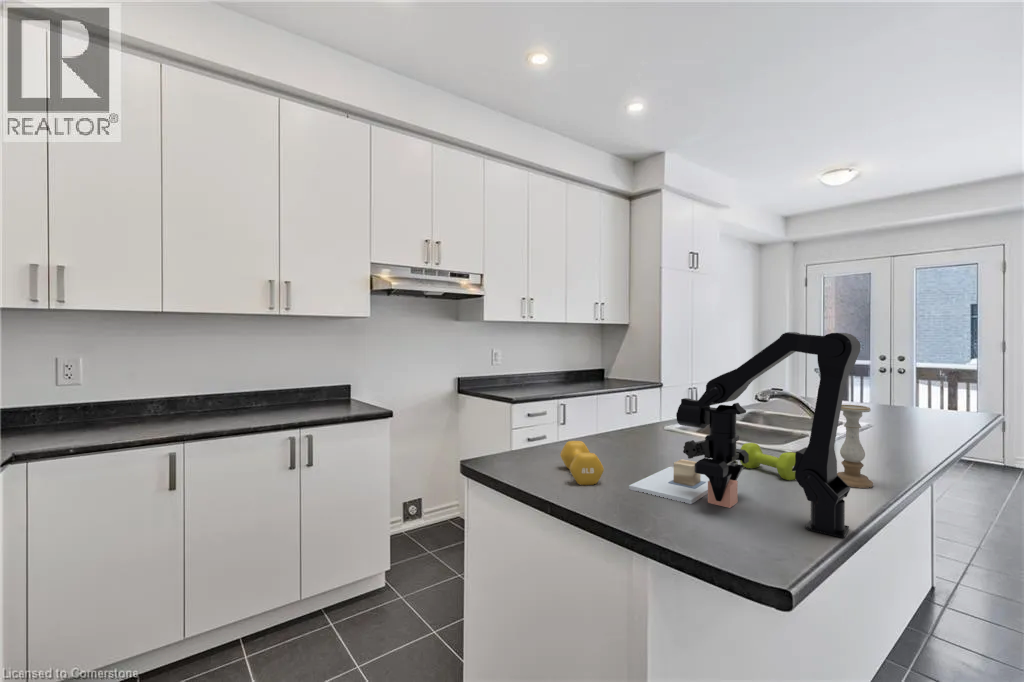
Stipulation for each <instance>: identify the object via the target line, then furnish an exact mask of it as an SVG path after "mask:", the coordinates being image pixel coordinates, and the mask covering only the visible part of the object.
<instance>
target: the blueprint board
mask: <svg viewBox="0 0 1024 682" xmlns="http://www.w3.org/2000/svg"><path fill="white" fill-rule="evenodd" d="M708 481H709V478H708V477H707V476H706V475H703V474H701V482H699V483H698V484H696V485H694V486H689V485H684V484H679V483H675V482H674V466H668V467H666V468H664V469H662V470H659V471H657V472H655V473H652V474H651V475H649V476H647V477H644V478H642V479H640V480H638V481H636V482H633V483H632V484H629V485H628V490H630V491H633V492H634V491H635V492H638V491H639V493H642V492H644V494H646V493H648V494H647V495H651V494H652V495H651V496H655V495H656V496H655V497H659V496H660V498H663V497H664V499H667V498H668V500H671V499H672V500H673V501H676V500H677V502H680V501H681V502H680V503H684V502H685V503H686V504H688V505H689V504H690V505H692V504H694V503H696V502H697V501H699V500H700V499H701V498H703V497H705V496H707V495H708ZM672 500H671V501H672Z"/></svg>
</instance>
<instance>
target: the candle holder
mask: <svg viewBox="0 0 1024 682" xmlns="http://www.w3.org/2000/svg"><path fill="white" fill-rule="evenodd" d="M841 411H842V415H843V416H844V418H845V420H846V421H845V423H844V424H843V427H845V439H844V442H843V443H842V446H841V447H840V449H839V455H840V457H841V458H842V459H843V460H842V461H841V465H842V466H843V468H844V471H837V475H838V476H839V477H840V478H841V479H842V480H843V481H844V482H845V483H846V484H847V485H848V486H849V487H850V488H858V489H859V488H860V489H869V487H870V488H872V486H873V487H874V481H872V480H871V479H869V477H868V476H867V475H865V474H863V473H861V471H862V469H863V467H864V466H865V465H864V463H863V462H862V461H863V460H864V459H865V457H866V452H865V449H864V447H863V446H862V443H861V440H860V429H861V428H862V425H861V424H860V419H861V418H862V417H863V413H870V412H871V408H870V406H865V405H859V404H858V405H857V404H842V405H841ZM841 411H840V412H841Z"/></svg>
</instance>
